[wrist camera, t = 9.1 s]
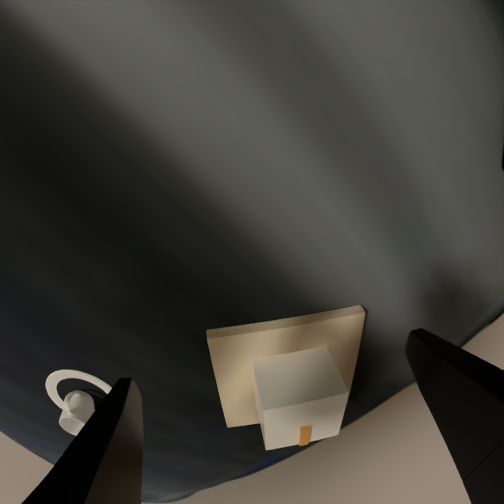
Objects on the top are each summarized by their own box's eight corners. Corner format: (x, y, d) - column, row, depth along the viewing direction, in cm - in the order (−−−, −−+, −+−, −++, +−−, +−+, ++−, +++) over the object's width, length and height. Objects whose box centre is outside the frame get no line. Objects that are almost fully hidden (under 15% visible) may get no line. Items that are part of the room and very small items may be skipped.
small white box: (326, 345, 24) (350, 395, 20) (321, 391, 27) (339, 437, 23) (251, 359, 24) (263, 414, 19) (256, 404, 27) (266, 453, 22)
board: (360, 304, 24) (382, 336, 21) (343, 397, 30) (356, 427, 26) (206, 330, 23) (208, 369, 20) (226, 419, 29) (230, 452, 25)
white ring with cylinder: (119, 428, 28) (116, 460, 25) (50, 408, 26) (41, 438, 23) (128, 380, 25) (122, 417, 22) (44, 355, 23) (30, 389, 19)
